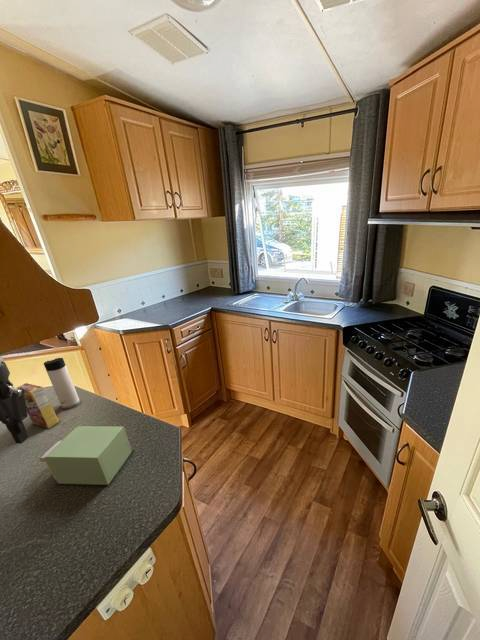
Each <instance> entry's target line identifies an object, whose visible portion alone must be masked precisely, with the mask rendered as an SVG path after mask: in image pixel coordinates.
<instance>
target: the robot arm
mask: <svg viewBox="0 0 480 640" xmlns="http://www.w3.org/2000/svg"><path fill="white" fill-rule="evenodd" d="M10 375H11V373H10V370H9V368H8V365H7V364H6V362H5V361H4V357H3V355H2V356H0V422H1V423H2V424H3V425H5V427H6V429H7V431H8V433H10V435H11V437H12V438H13V440H14V443H15V444H19V445H21V444H22V443H24V442H25V441H27V439H29V438H30V437H29V434H28V433H27V430H26V429H27V428H26V426H25V423H24V420H25V419H27V418H28V417H29V415H28V413H27V410H26V405H25V400H24V391H25V390H24V388H20V389H17V387H15V386H14V384H13V382H12V381H10V379H9V377H10Z"/></svg>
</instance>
